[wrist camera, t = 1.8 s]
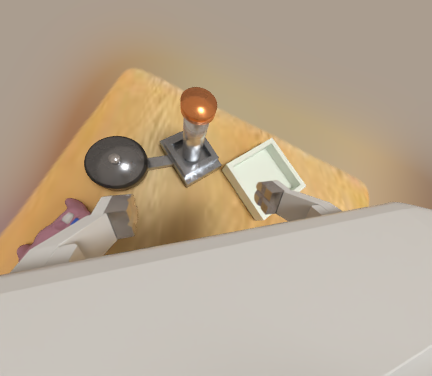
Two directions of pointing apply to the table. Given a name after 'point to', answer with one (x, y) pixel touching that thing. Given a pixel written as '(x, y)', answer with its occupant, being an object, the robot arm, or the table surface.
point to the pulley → (116, 163)
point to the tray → (261, 174)
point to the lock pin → (196, 119)
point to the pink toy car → (57, 224)
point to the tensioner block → (185, 168)
